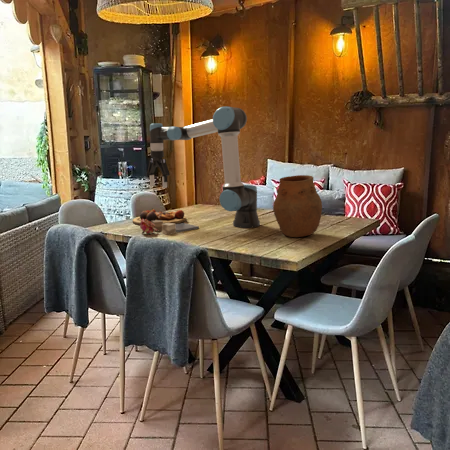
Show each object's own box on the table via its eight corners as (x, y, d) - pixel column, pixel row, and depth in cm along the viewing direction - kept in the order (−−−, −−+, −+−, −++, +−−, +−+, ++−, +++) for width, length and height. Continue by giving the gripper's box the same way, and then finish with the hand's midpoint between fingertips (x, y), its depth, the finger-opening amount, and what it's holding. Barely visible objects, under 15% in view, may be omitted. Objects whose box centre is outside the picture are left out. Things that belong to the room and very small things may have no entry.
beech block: (175, 233, 228) (175, 223, 227) (168, 234, 224) (168, 225, 223) (169, 231, 231) (168, 222, 230) (162, 233, 227) (161, 224, 226)
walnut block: (163, 230, 234) (162, 221, 233) (154, 231, 232) (154, 222, 231) (160, 228, 239) (159, 220, 238) (151, 229, 237) (151, 220, 236)
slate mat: (198, 228, 238) (198, 226, 238) (178, 232, 229) (178, 230, 229) (183, 225, 248) (183, 223, 248) (163, 228, 239) (163, 226, 239)
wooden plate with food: (195, 219, 269) (195, 205, 267) (168, 228, 240) (168, 213, 239) (152, 216, 282) (151, 204, 280) (121, 225, 253) (120, 211, 252)
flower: (137, 233, 220) (146, 220, 219) (133, 226, 227) (142, 214, 227) (152, 241, 225) (161, 229, 224) (148, 234, 232) (156, 222, 232)
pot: (262, 234, 222) (263, 176, 216) (295, 228, 236) (296, 173, 230) (297, 243, 203) (299, 179, 197) (330, 235, 217) (333, 176, 211)
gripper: (174, 150, 246) (175, 187, 250) (151, 150, 264) (152, 184, 269) (163, 151, 241) (165, 188, 245) (140, 150, 260) (142, 185, 264)
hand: (158, 186), depth 257 cm, fingers open, 13 cm apart
